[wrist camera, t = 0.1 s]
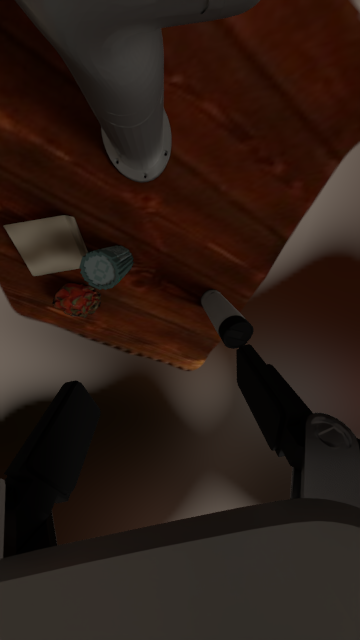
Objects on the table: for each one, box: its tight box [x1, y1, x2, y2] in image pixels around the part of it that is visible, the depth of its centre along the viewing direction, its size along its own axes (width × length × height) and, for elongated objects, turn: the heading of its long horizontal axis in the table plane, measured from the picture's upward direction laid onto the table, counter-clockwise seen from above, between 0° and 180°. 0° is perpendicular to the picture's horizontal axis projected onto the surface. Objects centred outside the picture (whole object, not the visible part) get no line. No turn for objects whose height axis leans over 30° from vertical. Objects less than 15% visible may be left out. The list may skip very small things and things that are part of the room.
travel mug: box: [201, 290, 253, 349], centre depth 38 cm, size 6×7×20 cm
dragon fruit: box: [53, 283, 101, 318], centre depth 40 cm, size 8×8×12 cm
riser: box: [3, 215, 88, 276], centre depth 35 cm, size 10×12×4 cm
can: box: [79, 245, 134, 290], centre depth 33 cm, size 6×6×15 cm
